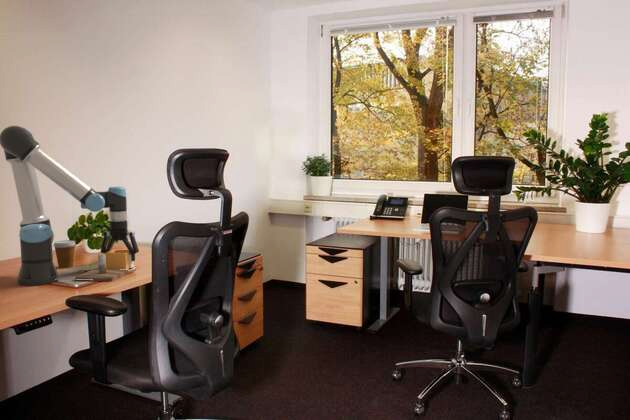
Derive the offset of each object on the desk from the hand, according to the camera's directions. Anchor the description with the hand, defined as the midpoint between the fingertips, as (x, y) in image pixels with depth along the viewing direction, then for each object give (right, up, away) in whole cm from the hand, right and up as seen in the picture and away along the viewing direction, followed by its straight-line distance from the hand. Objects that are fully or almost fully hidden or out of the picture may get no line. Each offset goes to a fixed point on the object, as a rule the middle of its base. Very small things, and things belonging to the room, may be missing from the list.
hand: (120, 267), depth 251 cm
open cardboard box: (0, 0, 0) cm, 0 cm away
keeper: (-2, -2, -17) cm, 17 cm away
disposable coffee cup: (-27, 0, +4) cm, 27 cm away
